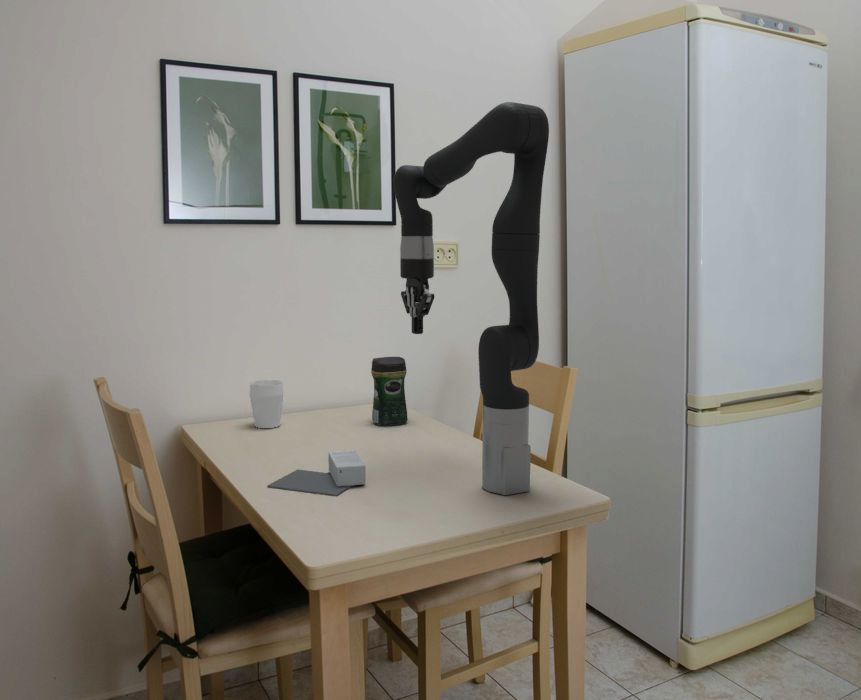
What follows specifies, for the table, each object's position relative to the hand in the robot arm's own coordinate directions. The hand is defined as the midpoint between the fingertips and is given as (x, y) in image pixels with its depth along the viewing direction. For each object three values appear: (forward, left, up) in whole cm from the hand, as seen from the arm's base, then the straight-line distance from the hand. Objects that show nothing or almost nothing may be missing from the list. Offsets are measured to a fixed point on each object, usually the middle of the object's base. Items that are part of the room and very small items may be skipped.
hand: (417, 333), depth 171 cm
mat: (-7, +27, -29) cm, 40 cm away
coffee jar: (+34, -8, -29) cm, 46 cm away
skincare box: (-2, +19, -27) cm, 33 cm away
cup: (+46, +23, -29) cm, 59 cm away
